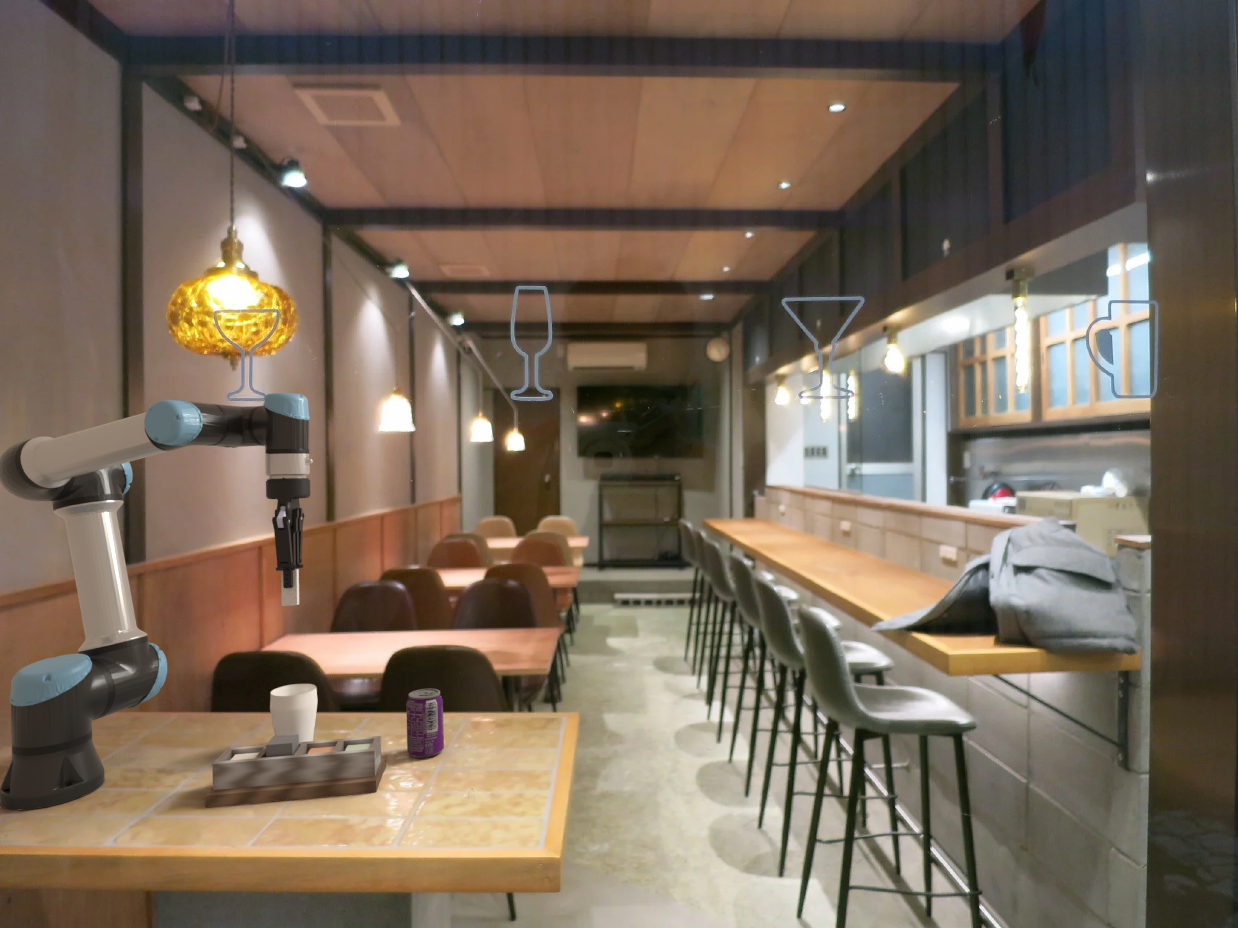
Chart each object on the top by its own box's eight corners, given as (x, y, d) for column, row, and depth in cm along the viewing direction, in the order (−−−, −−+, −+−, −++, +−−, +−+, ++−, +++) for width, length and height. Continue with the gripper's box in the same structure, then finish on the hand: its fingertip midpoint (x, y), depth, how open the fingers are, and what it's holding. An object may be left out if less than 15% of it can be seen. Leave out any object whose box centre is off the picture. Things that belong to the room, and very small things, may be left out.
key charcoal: (266, 761, 133) (266, 744, 133) (273, 752, 138) (273, 736, 138) (292, 759, 134) (292, 742, 134) (298, 750, 138) (298, 734, 138)
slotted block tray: (205, 807, 128) (204, 769, 128) (229, 778, 140) (229, 743, 140) (376, 791, 133) (375, 754, 133) (386, 765, 144) (385, 731, 144)
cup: (307, 755, 150) (305, 695, 150) (262, 756, 151) (261, 696, 151) (325, 739, 159) (324, 682, 159) (283, 740, 160) (282, 683, 160)
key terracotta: (305, 773, 134) (305, 757, 134) (311, 764, 139) (310, 748, 139) (331, 771, 135) (330, 755, 135) (336, 762, 139) (335, 746, 139)
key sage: (343, 770, 135) (343, 753, 135) (348, 761, 140) (347, 745, 140) (368, 768, 136) (368, 751, 136) (372, 759, 140) (372, 743, 140)
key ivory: (227, 780, 132) (226, 763, 132) (235, 770, 136) (235, 754, 136) (254, 778, 133) (253, 761, 133) (261, 768, 137) (261, 752, 137)
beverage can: (448, 746, 154) (447, 687, 154) (437, 760, 147) (435, 698, 147) (415, 746, 154) (413, 687, 154) (401, 759, 147) (400, 698, 147)
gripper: (300, 477, 133) (303, 610, 133) (317, 476, 146) (319, 597, 146) (255, 478, 132) (258, 612, 132) (276, 477, 145) (278, 599, 145)
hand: (290, 604), depth 139 cm, fingers closed
